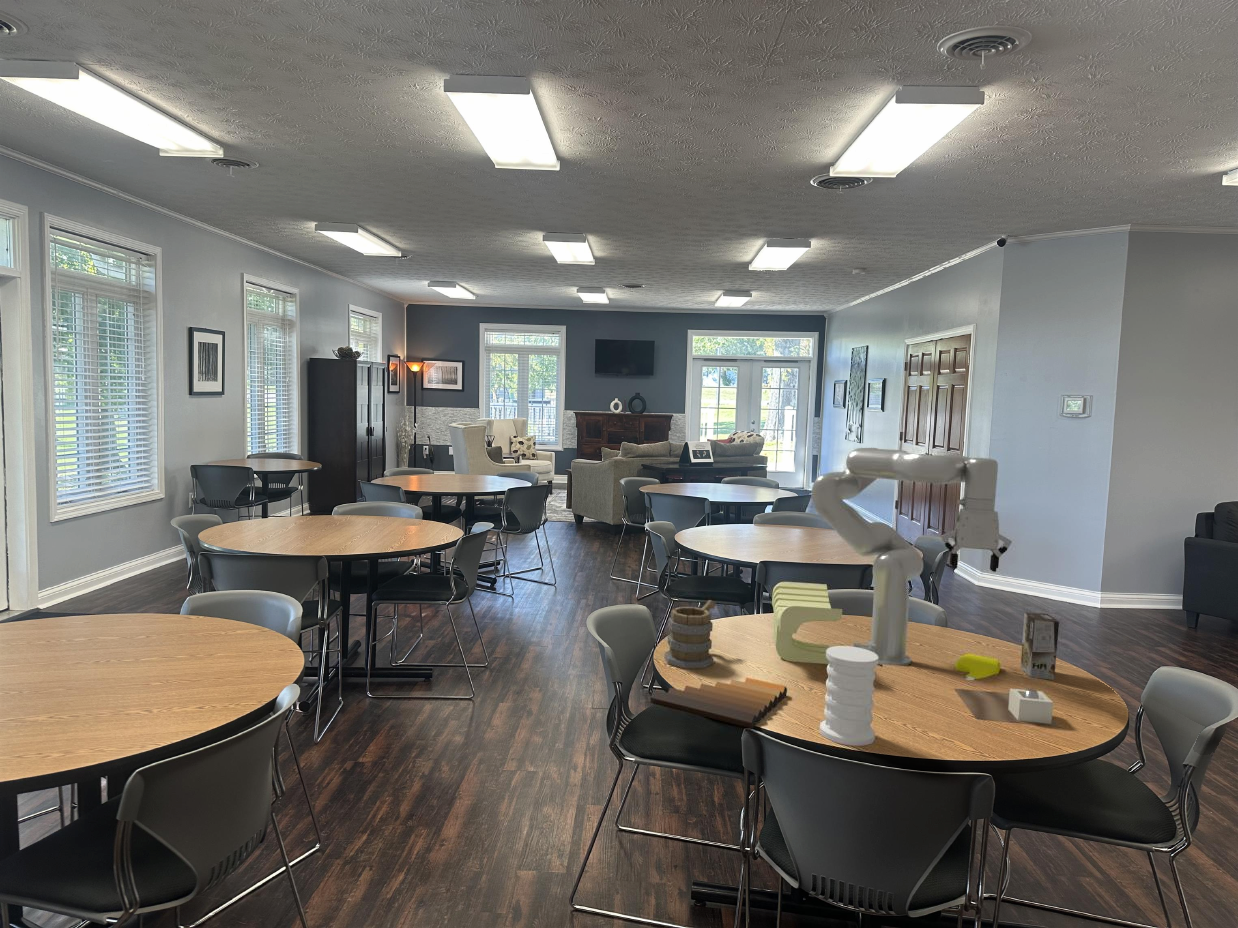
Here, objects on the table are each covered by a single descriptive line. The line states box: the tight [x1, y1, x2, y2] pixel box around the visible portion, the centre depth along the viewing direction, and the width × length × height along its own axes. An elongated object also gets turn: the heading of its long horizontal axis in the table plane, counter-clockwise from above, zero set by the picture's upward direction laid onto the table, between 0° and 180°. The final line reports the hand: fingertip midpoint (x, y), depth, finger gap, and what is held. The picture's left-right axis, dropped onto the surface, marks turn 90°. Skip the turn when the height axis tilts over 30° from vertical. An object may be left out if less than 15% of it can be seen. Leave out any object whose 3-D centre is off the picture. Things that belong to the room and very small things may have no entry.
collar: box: [1008, 688, 1054, 724], centre depth 181 cm, size 7×7×5 cm
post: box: [1025, 688, 1038, 699], centre depth 181 cm, size 2×2×6 cm
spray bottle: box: [954, 653, 1002, 681], centre depth 213 cm, size 3×11×24 cm
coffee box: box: [1020, 612, 1060, 681], centre depth 216 cm, size 9×6×16 cm
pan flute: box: [649, 677, 788, 729], centre depth 188 cm, size 25×3×25 cm
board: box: [953, 688, 1061, 728], centre depth 187 cm, size 18×20×2 cm
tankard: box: [664, 599, 717, 670], centre depth 218 cm, size 20×13×15 cm, turn 143°
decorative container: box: [819, 645, 879, 747], centre depth 170 cm, size 12×12×18 cm
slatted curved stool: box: [771, 581, 843, 665], centre depth 225 cm, size 30×16×18 cm, turn 173°
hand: (973, 569), depth 206 cm, fingers open, 9 cm apart
